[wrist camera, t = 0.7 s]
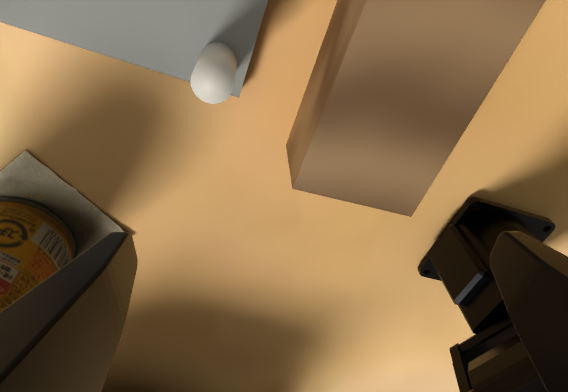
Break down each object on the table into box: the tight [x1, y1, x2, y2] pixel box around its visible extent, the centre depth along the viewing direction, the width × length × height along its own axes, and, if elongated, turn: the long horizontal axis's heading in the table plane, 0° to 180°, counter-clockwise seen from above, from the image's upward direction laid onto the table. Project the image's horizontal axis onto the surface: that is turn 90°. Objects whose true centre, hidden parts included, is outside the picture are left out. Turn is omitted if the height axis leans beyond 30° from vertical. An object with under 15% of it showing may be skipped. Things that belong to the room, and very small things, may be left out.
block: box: [286, 0, 546, 217], centre depth 17 cm, size 10×6×4 cm, turn 162°
